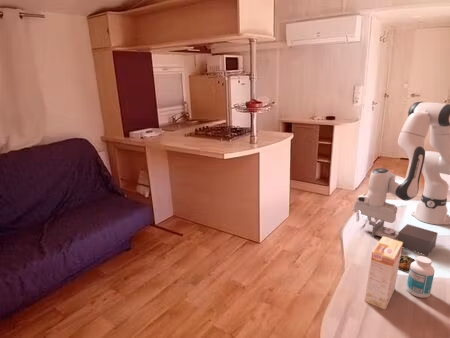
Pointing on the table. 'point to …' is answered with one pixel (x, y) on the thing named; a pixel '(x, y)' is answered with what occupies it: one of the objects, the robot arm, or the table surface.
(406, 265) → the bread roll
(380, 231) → the tray
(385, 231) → the disc
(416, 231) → the block
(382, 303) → the coffeecake box
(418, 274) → the pill bottle
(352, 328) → the table surface
